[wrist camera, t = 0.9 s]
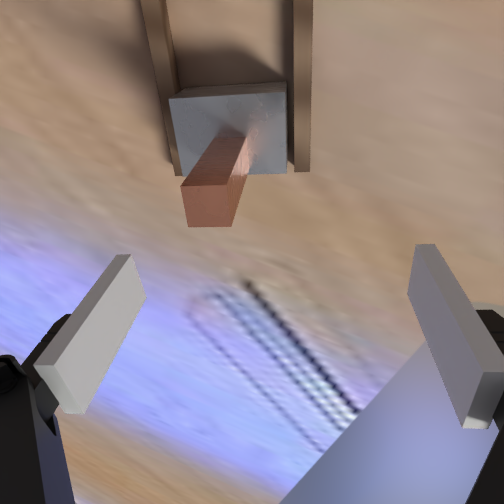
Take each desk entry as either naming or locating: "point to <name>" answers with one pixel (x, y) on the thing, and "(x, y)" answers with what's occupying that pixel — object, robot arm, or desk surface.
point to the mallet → (227, 144)
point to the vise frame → (169, 84)
